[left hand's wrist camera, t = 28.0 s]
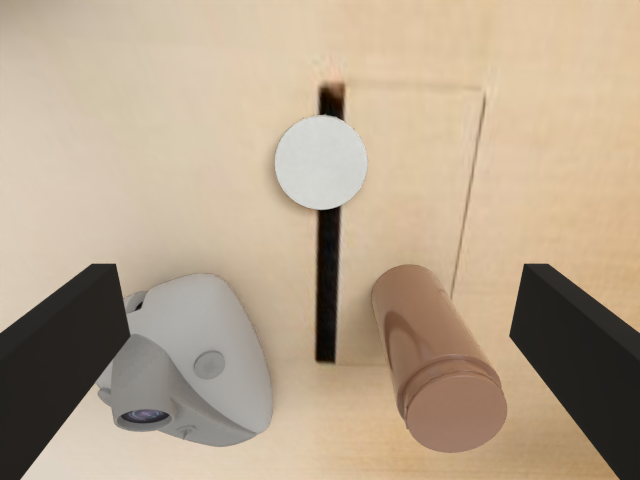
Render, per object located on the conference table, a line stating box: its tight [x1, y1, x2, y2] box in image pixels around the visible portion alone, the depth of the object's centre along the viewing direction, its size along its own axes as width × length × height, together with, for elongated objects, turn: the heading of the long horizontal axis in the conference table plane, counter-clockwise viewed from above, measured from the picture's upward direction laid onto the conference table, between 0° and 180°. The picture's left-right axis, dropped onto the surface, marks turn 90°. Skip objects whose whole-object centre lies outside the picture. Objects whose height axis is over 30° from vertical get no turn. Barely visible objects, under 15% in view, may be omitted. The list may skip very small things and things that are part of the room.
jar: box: [372, 265, 507, 453], centre depth 36 cm, size 8×8×18 cm
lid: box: [274, 114, 368, 210], centre depth 38 cm, size 9×9×2 cm
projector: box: [95, 273, 273, 447], centre depth 40 cm, size 22×23×15 cm
